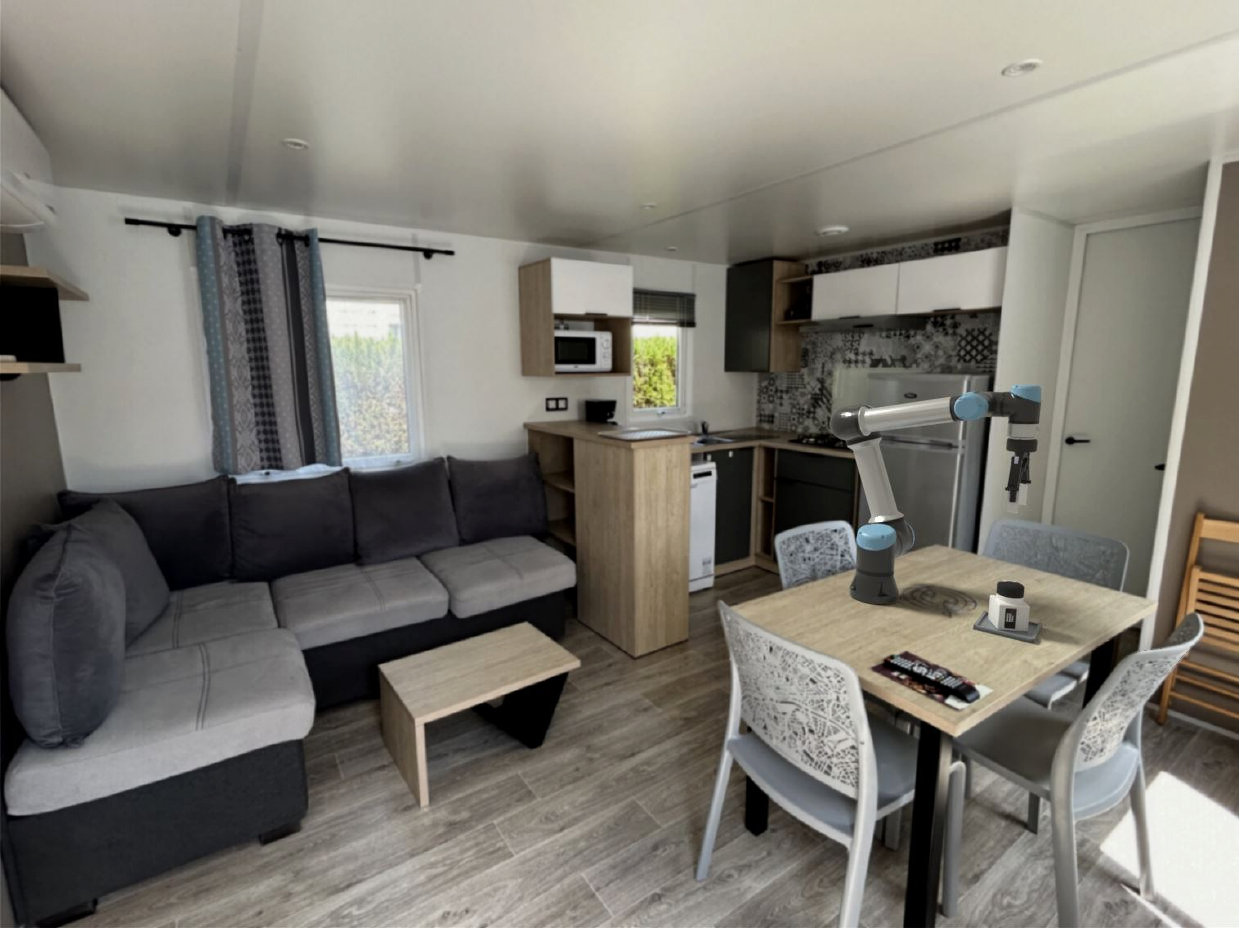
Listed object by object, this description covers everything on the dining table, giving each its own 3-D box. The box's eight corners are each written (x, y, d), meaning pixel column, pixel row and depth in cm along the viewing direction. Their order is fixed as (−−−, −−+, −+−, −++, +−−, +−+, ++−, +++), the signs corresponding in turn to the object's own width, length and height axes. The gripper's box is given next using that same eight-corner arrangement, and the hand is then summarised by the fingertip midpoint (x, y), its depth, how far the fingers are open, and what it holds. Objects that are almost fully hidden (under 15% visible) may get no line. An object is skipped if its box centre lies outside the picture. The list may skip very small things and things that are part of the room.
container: (1028, 632, 165) (1032, 588, 163) (997, 630, 166) (1000, 586, 165) (1017, 621, 172) (1020, 578, 170) (987, 619, 174) (990, 577, 172)
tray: (973, 629, 169) (973, 625, 169) (983, 614, 178) (984, 610, 178) (1033, 644, 159) (1034, 639, 159) (1041, 627, 169) (1042, 623, 169)
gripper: (1030, 443, 160) (1024, 518, 163) (1044, 434, 178) (1038, 503, 181) (998, 441, 165) (992, 514, 168) (1015, 433, 183) (1010, 499, 186)
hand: (1016, 508), depth 175 cm, fingers open, 13 cm apart
